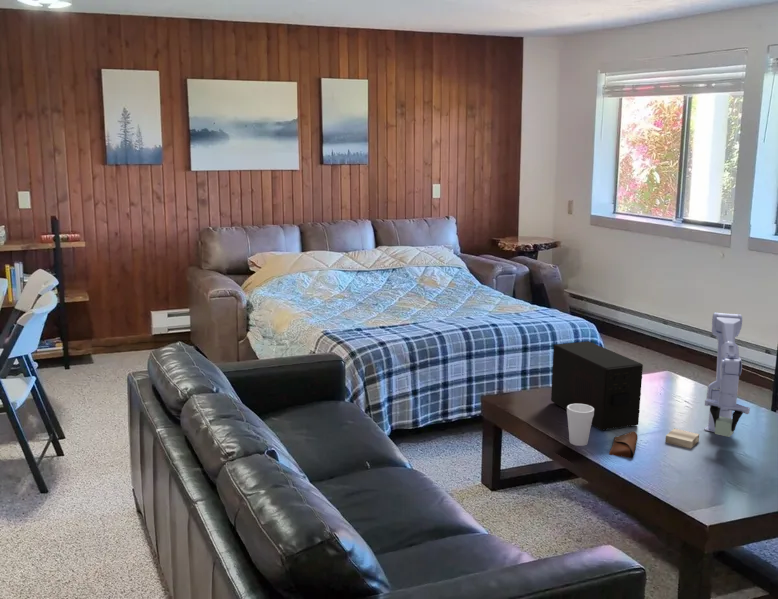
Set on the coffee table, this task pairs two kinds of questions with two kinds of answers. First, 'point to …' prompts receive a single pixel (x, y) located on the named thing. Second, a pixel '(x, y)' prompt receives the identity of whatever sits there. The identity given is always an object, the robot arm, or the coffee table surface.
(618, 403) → the black rectangular box
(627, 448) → the sunglasses case
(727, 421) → the sage cube
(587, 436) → the foam cup
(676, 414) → the coffee table surface
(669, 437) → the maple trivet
